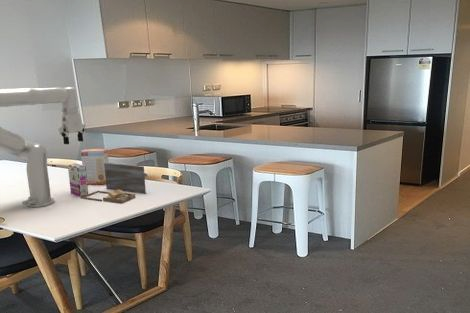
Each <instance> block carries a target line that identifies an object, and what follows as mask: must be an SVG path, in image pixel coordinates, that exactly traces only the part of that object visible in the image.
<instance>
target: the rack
mask: <svg viewBox="0 0 470 313" xmlns="http://www.w3.org/2000/svg"><path fill="white" fill-rule="evenodd" d="M104 167H105V178H106V185H105V186H106V187H105V188H106V190H109V191H114V190H121V191H123V192H125V194H126V195H128V196H129V197H126V198H124V199H122V200H119V199H112V198H107V197H102V199H101V198H94V197H90V196H93V195H95V194H106V195H108V192H109V191H103V190H95V191H94V192H91V193H88V195H85V196H81V197H80V199H83V200H88V201H95V202H104V203H105V202H108V203H114V204H120V205H121V204H124V203H127V202H128V201H129V202H130V201H131V200H134V199H136V194H142V195H146V193H147V191H146V177H145V166H144V165H143V166H142V165H131V164H121V163H120V164H119V163H110V162H108V163H104ZM135 193H136V194H135Z"/></svg>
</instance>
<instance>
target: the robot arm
mask: <svg viewBox="0 0 470 313" xmlns="http://www.w3.org/2000/svg"><path fill="white" fill-rule="evenodd" d="M77 95H78V94H77V89H76V87H75V86H65V87H57V86H55V87H54V86H53V87H44V88H43V87H42V88H41V87H40V88H39V87H9V88H5V87H4V88H3V87H2V88H0V108H6V107H7V108H8V107H10V108H11V107H19V106H20V107H21V106H34V105H35V106H36V105H43V104H44V105H45V104H46V105H47V104H48V105H49V104H59V103H60V104H61V107H62V109H61V113H62V115H61V126H60V127H59V128H58V132H59V135H60V136H61V137H63V140H62V141H63V144H64V145H70V139H69V134H72V133H77V141H78V142H84V136H83V134H84V132H85V128H86V124H84V123H83V122H82V117H81V114H80V112H79V108H78V107H79V106H78V98H77V97H78V96H77ZM0 150H1V151H3V152H5V153H7V154H10V155H12V156H15V157H17V158H20V159H22V160H26V177H27V184H28V192H29V196H28V197H27V199H26V200H23V201H22V202H21V204H22V206H25V205H27V206H28V207H29V208H42V207H43V208H44V207H46V206H47V207H48V206H50V205H53V204H54V203H55V202H56V201H55V198H52V196H51V195H52V194H51V186H50V185H51V184H50V177H49V170H48V150H47V148H46V146H44V145H43V144H42V143H39V142H36V141H35V142H34V141H29V140H27V139H25V138H24V137H23V136H21V135H19V134H18V133H14V132H12V131H10V130H7V129H5V128H3V127H1V126H0Z"/></svg>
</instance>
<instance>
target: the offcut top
mask: <svg viewBox="0 0 470 313" xmlns="http://www.w3.org/2000/svg"><path fill="white" fill-rule="evenodd" d="M107 192H108V194H107V196H108V195H109V196H110V197H112V198H114V199H116V198H121V197H126V194H125V193H126V191H121V190H109V191H107Z"/></svg>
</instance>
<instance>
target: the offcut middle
mask: <svg viewBox="0 0 470 313" xmlns="http://www.w3.org/2000/svg"><path fill="white" fill-rule="evenodd" d="M126 197H129V196H128V195H126ZM126 197H121V198H116V199H119V200H122V199H124V198H126ZM105 198H112V197H110V196H109V195H108V194H107V195H106V197H105ZM112 199H114V198H112Z"/></svg>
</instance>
